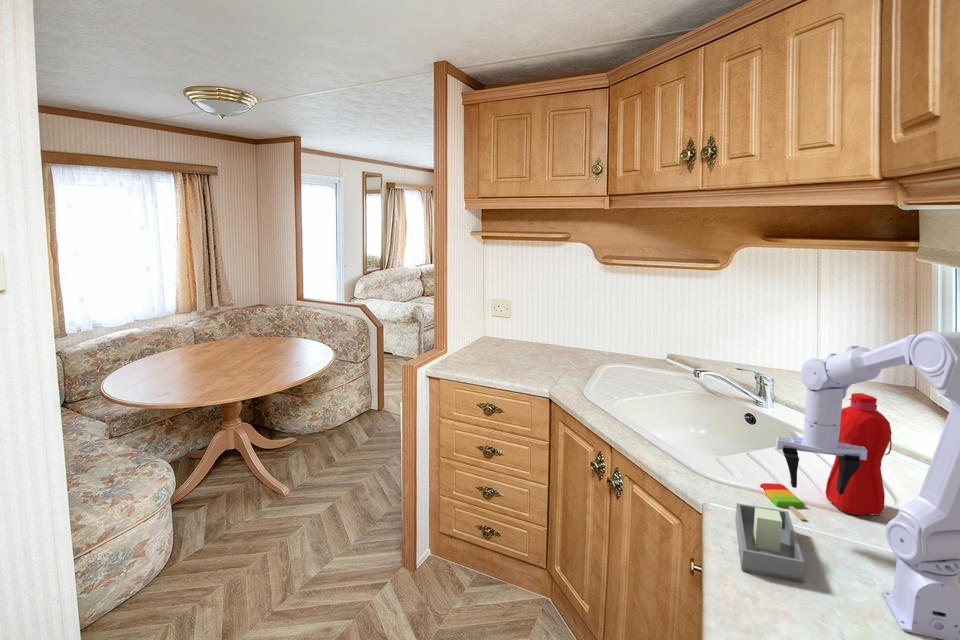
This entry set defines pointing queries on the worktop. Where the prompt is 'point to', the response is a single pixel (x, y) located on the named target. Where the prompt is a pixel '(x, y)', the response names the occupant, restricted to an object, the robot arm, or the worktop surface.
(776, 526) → the sage block
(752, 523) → the bin
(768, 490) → the popsicle
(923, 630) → the robot arm
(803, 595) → the worktop surface
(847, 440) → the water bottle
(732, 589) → the worktop surface
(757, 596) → the worktop surface
